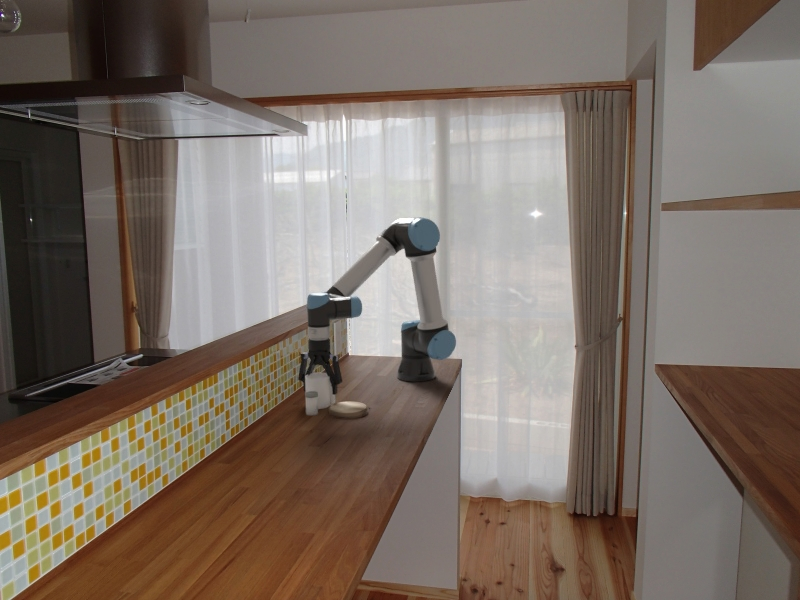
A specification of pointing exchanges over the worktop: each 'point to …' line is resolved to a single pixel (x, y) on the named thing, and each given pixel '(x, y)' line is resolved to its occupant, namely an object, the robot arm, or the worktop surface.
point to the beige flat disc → (348, 410)
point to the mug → (319, 387)
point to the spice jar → (311, 403)
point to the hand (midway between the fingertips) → (320, 401)
